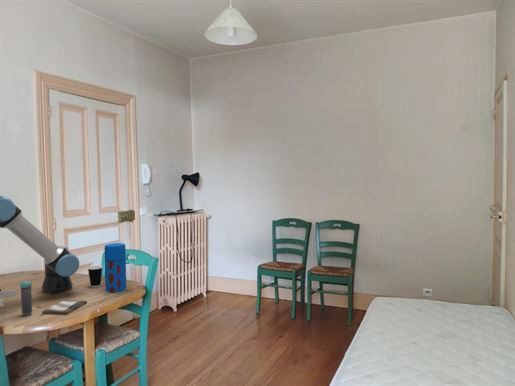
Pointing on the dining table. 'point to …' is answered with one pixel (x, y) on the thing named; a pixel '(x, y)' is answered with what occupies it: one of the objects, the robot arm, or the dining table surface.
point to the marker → (26, 298)
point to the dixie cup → (95, 275)
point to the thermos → (115, 267)
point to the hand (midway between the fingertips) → (9, 297)
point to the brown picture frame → (64, 307)
